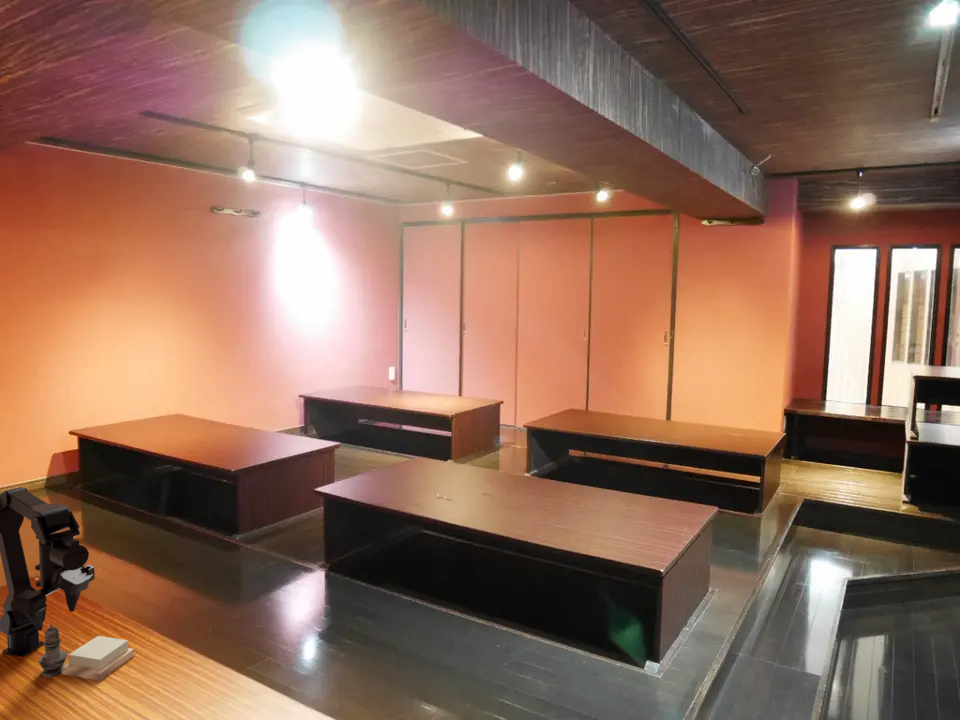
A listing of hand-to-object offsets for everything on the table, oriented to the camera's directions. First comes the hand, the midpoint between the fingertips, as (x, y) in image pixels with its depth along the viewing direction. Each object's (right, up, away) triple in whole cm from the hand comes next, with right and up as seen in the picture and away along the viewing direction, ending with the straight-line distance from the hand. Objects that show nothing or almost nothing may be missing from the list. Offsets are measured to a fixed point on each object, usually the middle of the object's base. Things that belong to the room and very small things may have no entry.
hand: (56, 620), depth 155 cm
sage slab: (+8, -11, +4) cm, 14 cm away
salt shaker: (-1, -13, +1) cm, 13 cm away
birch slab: (+8, -13, +4) cm, 16 cm away
